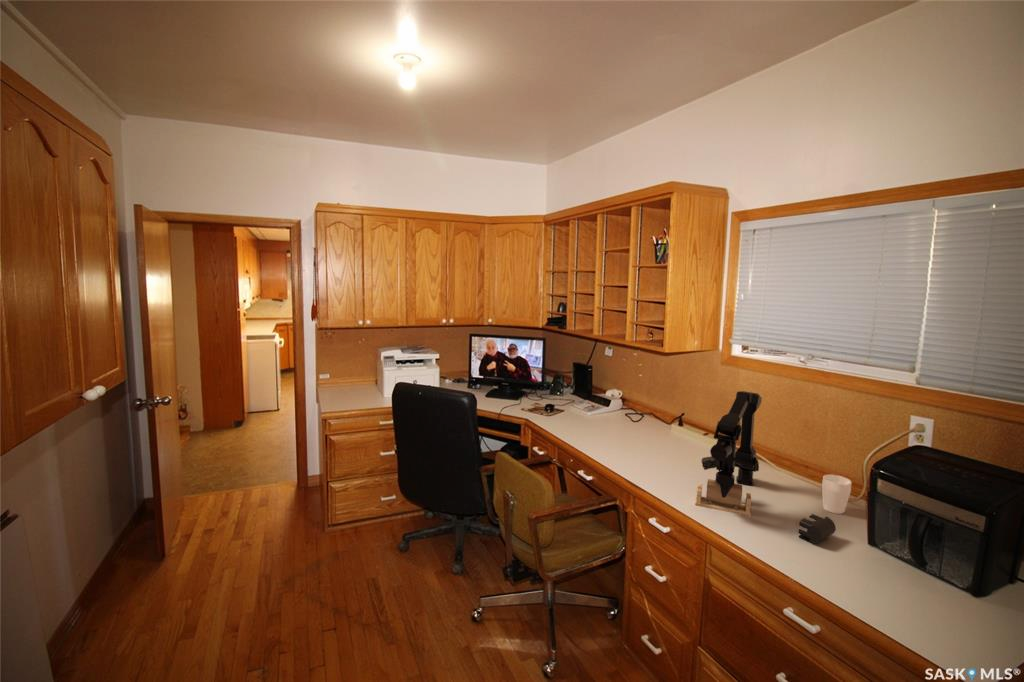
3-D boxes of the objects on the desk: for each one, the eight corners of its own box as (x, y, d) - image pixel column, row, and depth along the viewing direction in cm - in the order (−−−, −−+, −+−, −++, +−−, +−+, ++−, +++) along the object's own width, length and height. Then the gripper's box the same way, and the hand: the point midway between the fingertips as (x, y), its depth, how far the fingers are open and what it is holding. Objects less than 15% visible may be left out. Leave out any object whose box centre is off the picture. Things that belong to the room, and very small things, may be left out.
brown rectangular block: (706, 493, 188) (707, 478, 187) (740, 499, 183) (742, 484, 182) (706, 498, 183) (707, 483, 182) (740, 505, 178) (742, 490, 177)
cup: (816, 509, 182) (819, 479, 180) (822, 501, 188) (826, 472, 186) (844, 518, 176) (848, 487, 174) (850, 509, 182) (854, 479, 180)
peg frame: (696, 497, 191) (697, 483, 190) (750, 507, 183) (751, 493, 182) (695, 504, 184) (696, 490, 183) (750, 516, 176) (752, 501, 176)
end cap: (819, 548, 157) (821, 529, 156) (797, 538, 163) (798, 519, 162) (834, 539, 162) (837, 520, 161) (812, 529, 168) (814, 511, 167)
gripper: (705, 441, 192) (702, 478, 194) (702, 457, 175) (699, 498, 178) (736, 445, 187) (732, 483, 190) (736, 463, 171) (732, 504, 173)
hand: (723, 492), depth 183 cm, fingers open, 9 cm apart
